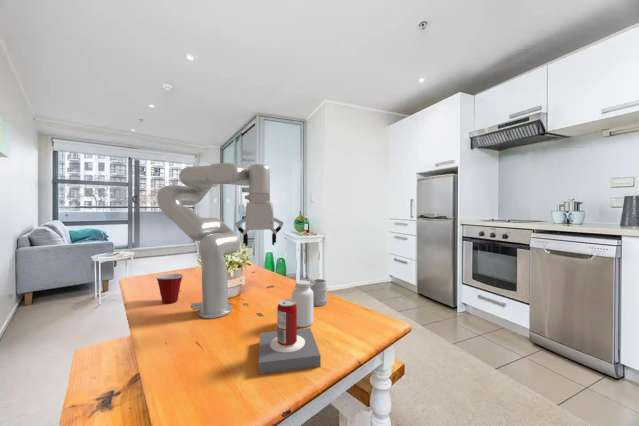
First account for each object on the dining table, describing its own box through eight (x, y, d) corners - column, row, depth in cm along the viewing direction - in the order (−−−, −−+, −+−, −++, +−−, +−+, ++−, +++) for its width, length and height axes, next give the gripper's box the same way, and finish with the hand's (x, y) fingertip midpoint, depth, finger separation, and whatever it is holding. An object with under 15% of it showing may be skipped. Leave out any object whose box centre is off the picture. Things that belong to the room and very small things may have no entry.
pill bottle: (316, 319, 99) (316, 280, 98) (308, 329, 91) (308, 286, 91) (297, 317, 101) (296, 278, 101) (287, 326, 94) (287, 284, 93)
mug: (331, 303, 116) (331, 276, 115) (310, 310, 108) (310, 281, 107) (319, 298, 121) (319, 272, 121) (299, 305, 113) (299, 277, 113)
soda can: (299, 338, 78) (298, 298, 78) (293, 348, 73) (293, 305, 73) (281, 336, 80) (281, 297, 79) (274, 346, 74) (274, 304, 74)
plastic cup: (189, 298, 123) (188, 272, 123) (172, 306, 112) (172, 278, 112) (168, 296, 125) (168, 271, 125) (150, 305, 114) (149, 277, 114)
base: (258, 374, 67) (258, 361, 67) (259, 342, 83) (259, 332, 82) (320, 366, 70) (320, 354, 70) (310, 337, 86) (310, 327, 86)
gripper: (233, 198, 92) (234, 247, 92) (283, 198, 95) (284, 245, 96) (236, 198, 99) (236, 244, 99) (282, 199, 102) (282, 242, 103)
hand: (260, 245), depth 97 cm, fingers open, 9 cm apart
